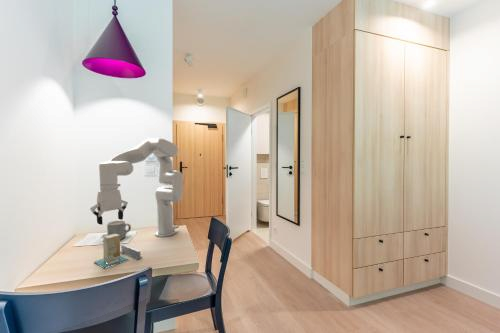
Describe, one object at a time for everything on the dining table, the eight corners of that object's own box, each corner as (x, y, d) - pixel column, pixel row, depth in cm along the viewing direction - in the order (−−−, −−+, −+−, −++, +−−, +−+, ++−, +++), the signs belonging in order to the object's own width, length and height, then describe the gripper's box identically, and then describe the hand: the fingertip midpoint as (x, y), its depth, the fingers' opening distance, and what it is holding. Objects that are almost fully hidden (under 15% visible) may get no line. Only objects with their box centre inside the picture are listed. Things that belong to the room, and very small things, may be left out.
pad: (116, 255, 128) (116, 253, 128) (128, 260, 122) (128, 258, 122) (93, 262, 119) (93, 261, 119) (105, 268, 113) (104, 267, 113)
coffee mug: (108, 242, 147) (107, 225, 146) (107, 237, 155) (106, 222, 155) (132, 238, 154) (132, 222, 153) (130, 233, 162) (130, 218, 162)
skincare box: (108, 263, 117) (107, 238, 116) (103, 261, 119) (102, 236, 118) (121, 258, 122) (120, 234, 122) (116, 256, 124) (115, 233, 124)
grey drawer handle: (125, 251, 133) (125, 243, 133) (142, 258, 124) (142, 250, 124) (119, 252, 131) (119, 245, 131) (136, 260, 122) (136, 252, 122)
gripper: (122, 184, 128) (123, 216, 129) (85, 189, 113) (87, 224, 114) (130, 185, 123) (131, 218, 125) (93, 190, 109) (95, 227, 110)
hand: (110, 221), depth 120 cm, fingers open, 9 cm apart
